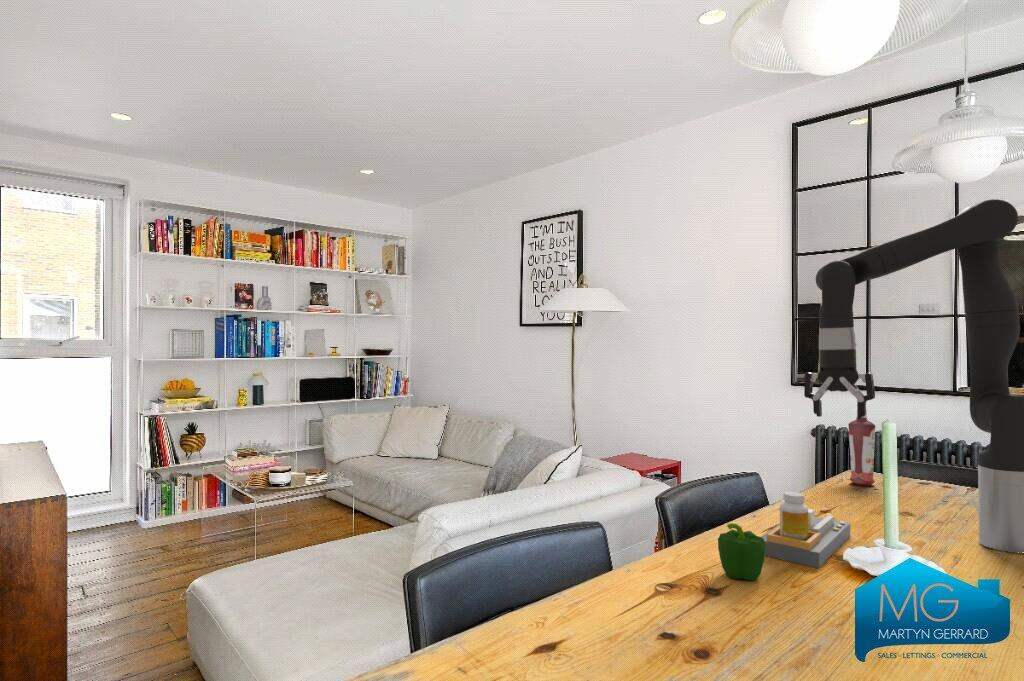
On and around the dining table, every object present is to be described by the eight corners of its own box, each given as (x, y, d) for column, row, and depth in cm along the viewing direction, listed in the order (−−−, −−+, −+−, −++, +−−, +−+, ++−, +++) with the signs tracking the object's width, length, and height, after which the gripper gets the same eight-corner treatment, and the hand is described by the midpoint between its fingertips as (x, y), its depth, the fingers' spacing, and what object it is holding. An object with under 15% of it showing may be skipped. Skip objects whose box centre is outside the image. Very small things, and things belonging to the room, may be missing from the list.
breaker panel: (850, 536, 136) (850, 514, 136) (819, 568, 116) (819, 542, 116) (794, 525, 144) (794, 505, 144) (756, 553, 124) (756, 530, 124)
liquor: (870, 488, 181) (870, 397, 181) (845, 484, 186) (844, 395, 186) (879, 485, 185) (878, 395, 186) (854, 480, 191) (853, 394, 191)
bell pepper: (764, 571, 115) (763, 519, 115) (767, 587, 107) (766, 532, 107) (718, 565, 118) (718, 515, 118) (718, 581, 110) (717, 527, 110)
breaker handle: (814, 532, 128) (814, 509, 128) (810, 535, 126) (810, 512, 126) (795, 528, 131) (795, 506, 131) (790, 531, 129) (790, 509, 129)
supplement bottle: (813, 544, 121) (813, 497, 121) (786, 544, 121) (786, 497, 121) (800, 536, 126) (800, 490, 126) (775, 536, 126) (775, 490, 126)
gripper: (799, 348, 139) (802, 417, 139) (869, 347, 130) (871, 421, 130) (808, 348, 145) (810, 414, 145) (875, 346, 136) (877, 417, 136)
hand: (839, 417), depth 137 cm, fingers open, 8 cm apart
